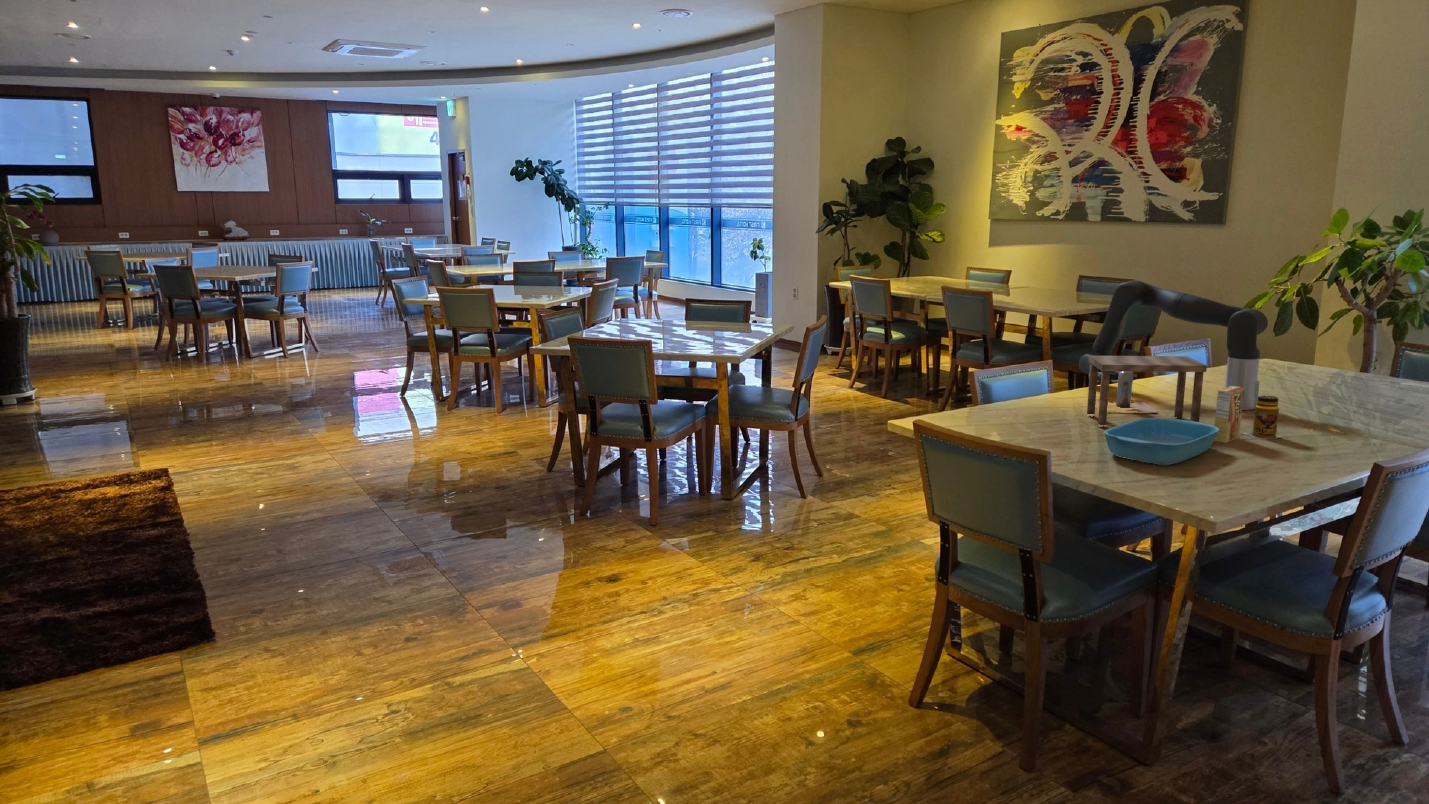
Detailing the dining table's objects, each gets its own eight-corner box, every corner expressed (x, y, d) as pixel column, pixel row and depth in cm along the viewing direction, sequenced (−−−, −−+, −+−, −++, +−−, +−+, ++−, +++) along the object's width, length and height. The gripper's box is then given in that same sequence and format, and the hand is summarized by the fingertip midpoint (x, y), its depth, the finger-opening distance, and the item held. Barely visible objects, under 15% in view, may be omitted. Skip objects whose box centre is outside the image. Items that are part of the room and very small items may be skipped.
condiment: (1264, 440, 268) (1268, 400, 266) (1240, 433, 276) (1244, 394, 274) (1283, 437, 270) (1288, 398, 268) (1259, 431, 278) (1263, 392, 276)
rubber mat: (1144, 403, 319) (1144, 402, 319) (1158, 413, 304) (1158, 412, 303) (1089, 403, 322) (1090, 401, 322) (1101, 412, 306) (1101, 411, 306)
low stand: (1181, 416, 299) (1186, 356, 295) (1200, 429, 281) (1206, 365, 277) (1084, 415, 304) (1088, 355, 299) (1098, 427, 286) (1102, 364, 282)
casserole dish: (1149, 435, 277) (1151, 412, 275) (1228, 448, 260) (1230, 424, 259) (1089, 458, 253) (1091, 433, 252) (1172, 474, 237) (1174, 447, 235)
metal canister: (1128, 405, 314) (1131, 370, 312) (1132, 408, 310) (1134, 373, 308) (1114, 405, 315) (1117, 370, 313) (1117, 407, 311) (1120, 373, 308)
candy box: (1224, 435, 274) (1229, 385, 270) (1240, 438, 270) (1245, 387, 267) (1212, 440, 268) (1216, 389, 265) (1227, 443, 265) (1232, 391, 262)
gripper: (1084, 362, 338) (1095, 369, 322) (1125, 362, 336) (1138, 370, 320) (1083, 382, 339) (1093, 390, 324) (1124, 382, 337) (1136, 391, 321)
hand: (1116, 380), depth 322 cm, fingers open, 8 cm apart
